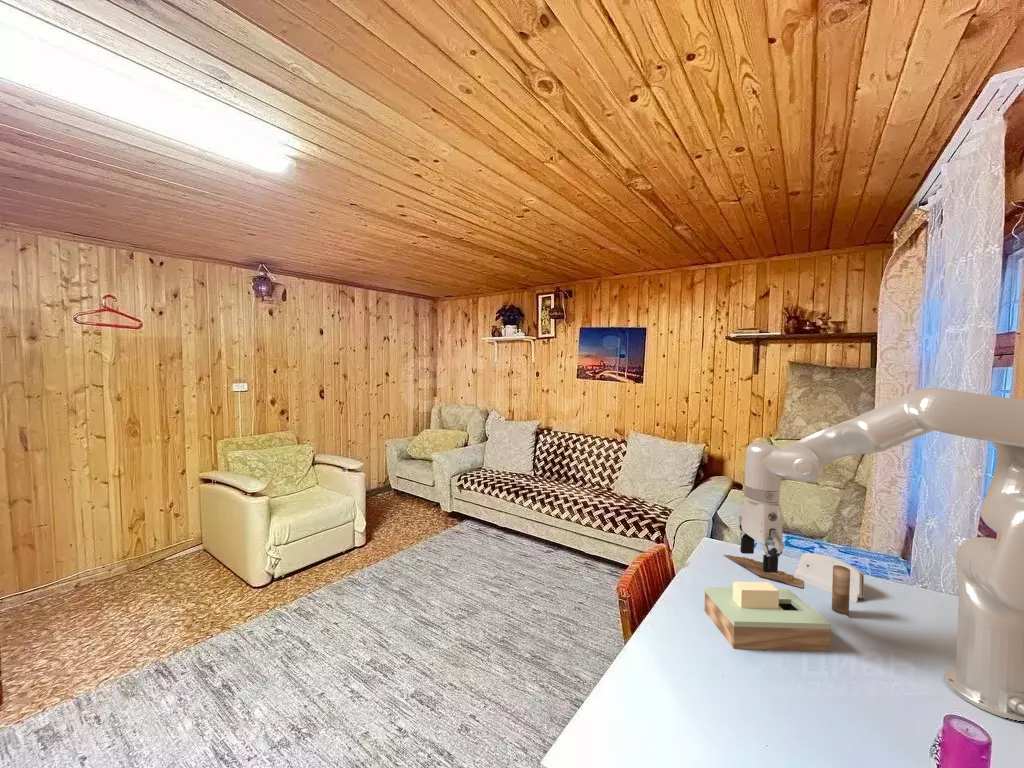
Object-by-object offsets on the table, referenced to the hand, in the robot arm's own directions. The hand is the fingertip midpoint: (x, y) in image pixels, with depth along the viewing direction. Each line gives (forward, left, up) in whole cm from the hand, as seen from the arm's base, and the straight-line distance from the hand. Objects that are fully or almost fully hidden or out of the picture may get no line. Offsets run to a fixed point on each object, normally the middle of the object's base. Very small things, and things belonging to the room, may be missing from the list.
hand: (757, 562), depth 101 cm
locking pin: (+9, -27, -18) cm, 34 cm away
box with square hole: (0, -1, -18) cm, 18 cm away
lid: (0, -1, -12) cm, 12 cm away
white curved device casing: (+23, -35, -18) cm, 46 cm away
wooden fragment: (+33, -20, -18) cm, 43 cm away
